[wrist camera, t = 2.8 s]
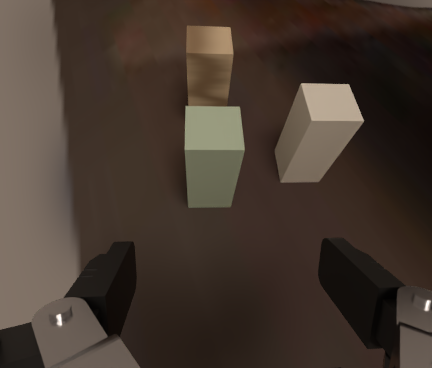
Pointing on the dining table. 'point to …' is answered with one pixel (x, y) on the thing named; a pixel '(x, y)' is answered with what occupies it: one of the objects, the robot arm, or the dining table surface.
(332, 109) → the cream block
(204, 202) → the sage block
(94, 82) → the dining table surface
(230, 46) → the oak block
